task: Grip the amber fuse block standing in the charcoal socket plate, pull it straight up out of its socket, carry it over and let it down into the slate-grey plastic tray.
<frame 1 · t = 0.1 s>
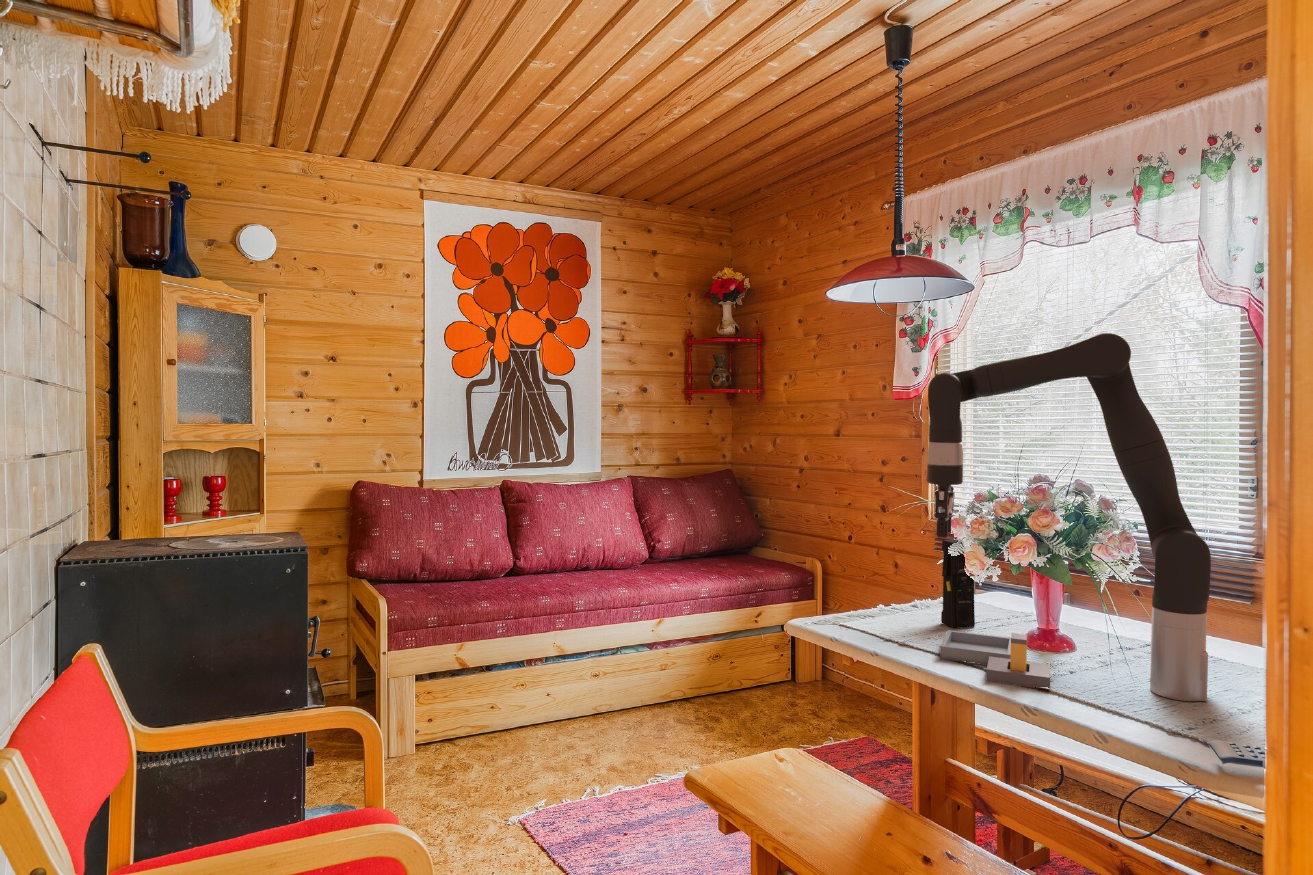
hand: (944, 534, 179), 29 cm above the table, tool pointing down, fingers open, 8 cm apart
portable radio: (956, 626, 211), on the table
grey tray: (977, 654, 186), on the table
amber fuse: (1018, 657, 169), in the socket plate
socket plate: (1018, 678, 169), on the table
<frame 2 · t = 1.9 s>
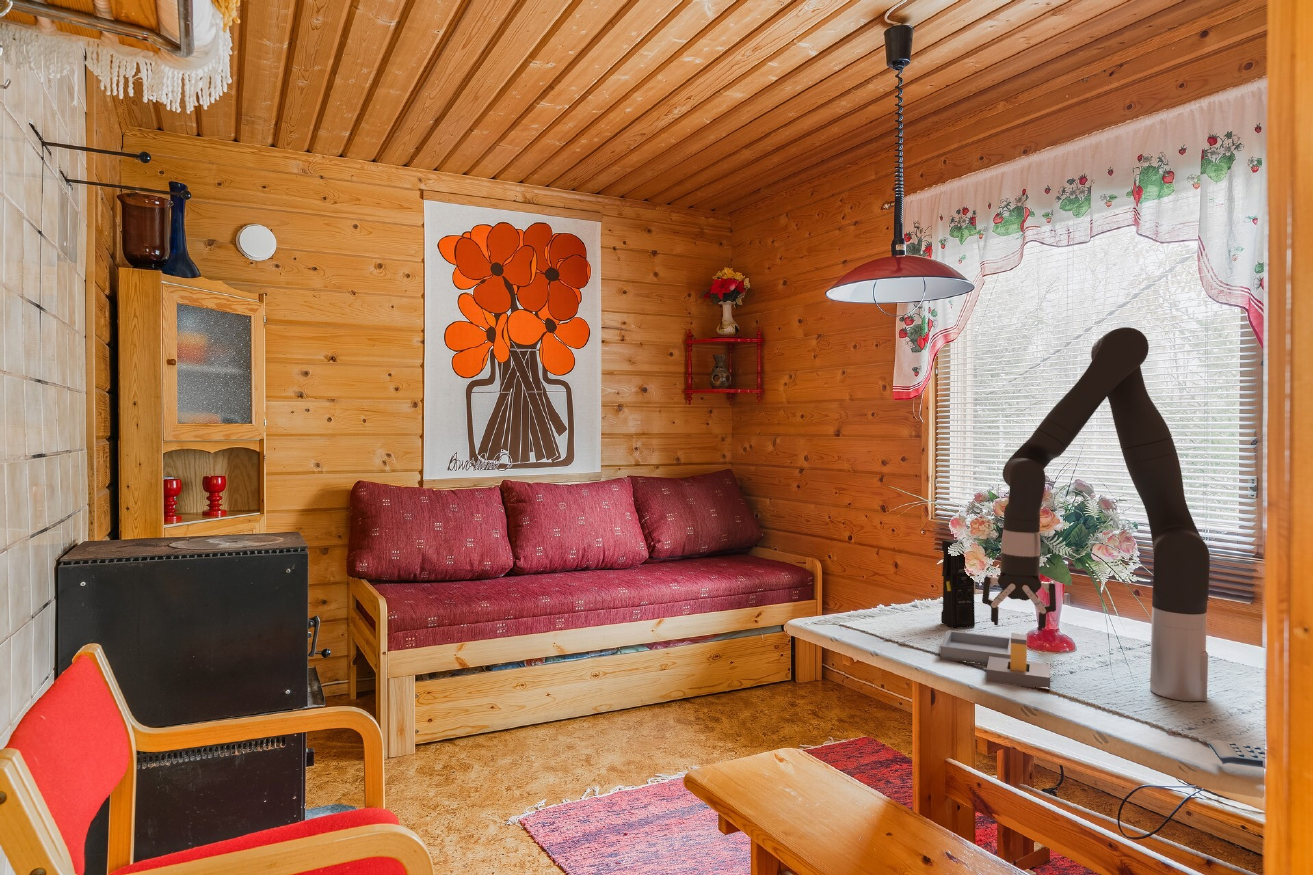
hand: (1017, 627, 169), 11 cm above the table, tool pointing down, fingers open, 8 cm apart
nothing on the table moved.
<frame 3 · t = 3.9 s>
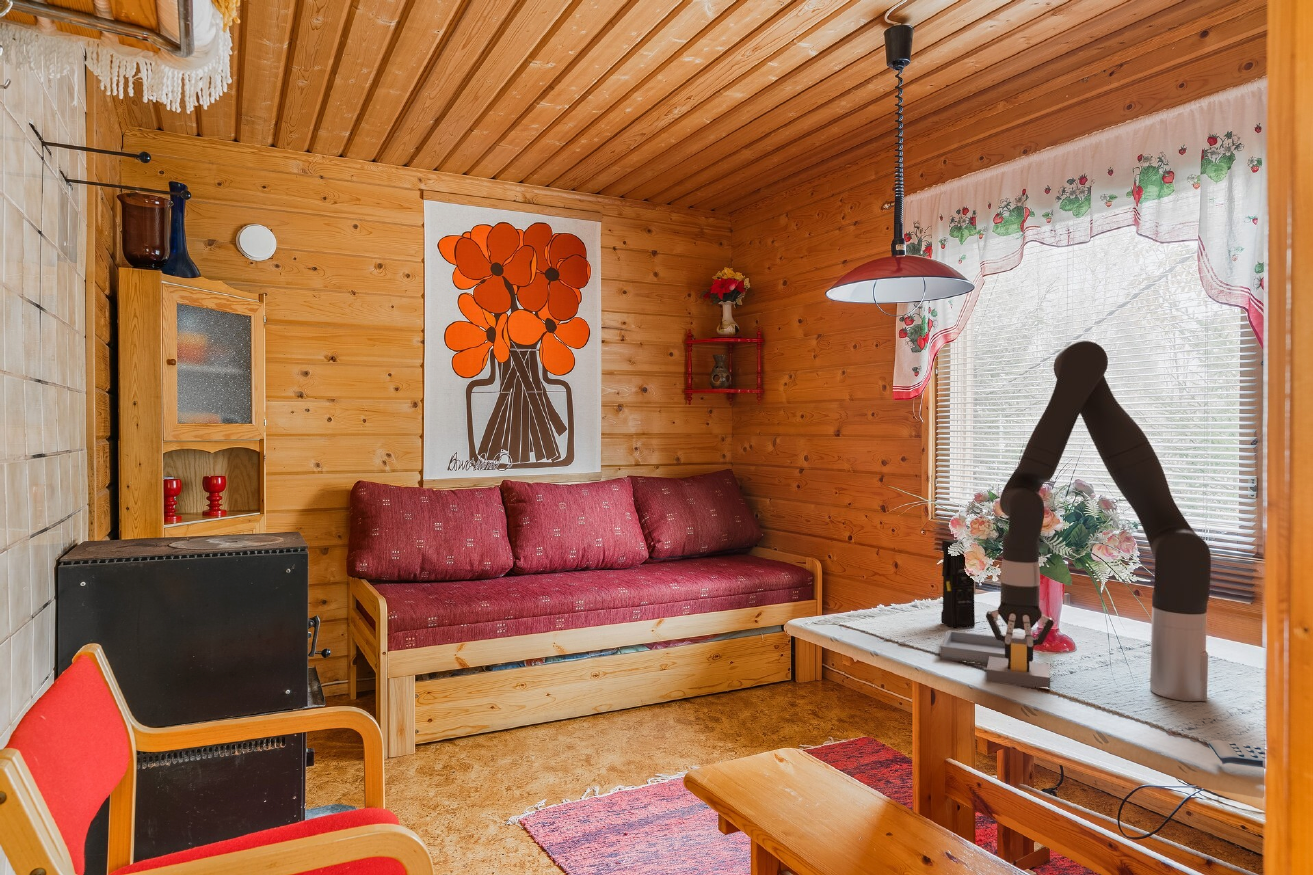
hand: (1018, 661, 169), 4 cm above the table, tool pointing down, fingers closed on amber fuse, 2 cm apart
amber fuse: (1018, 656, 169), in the socket plate, touching gripper
everything else where it was.
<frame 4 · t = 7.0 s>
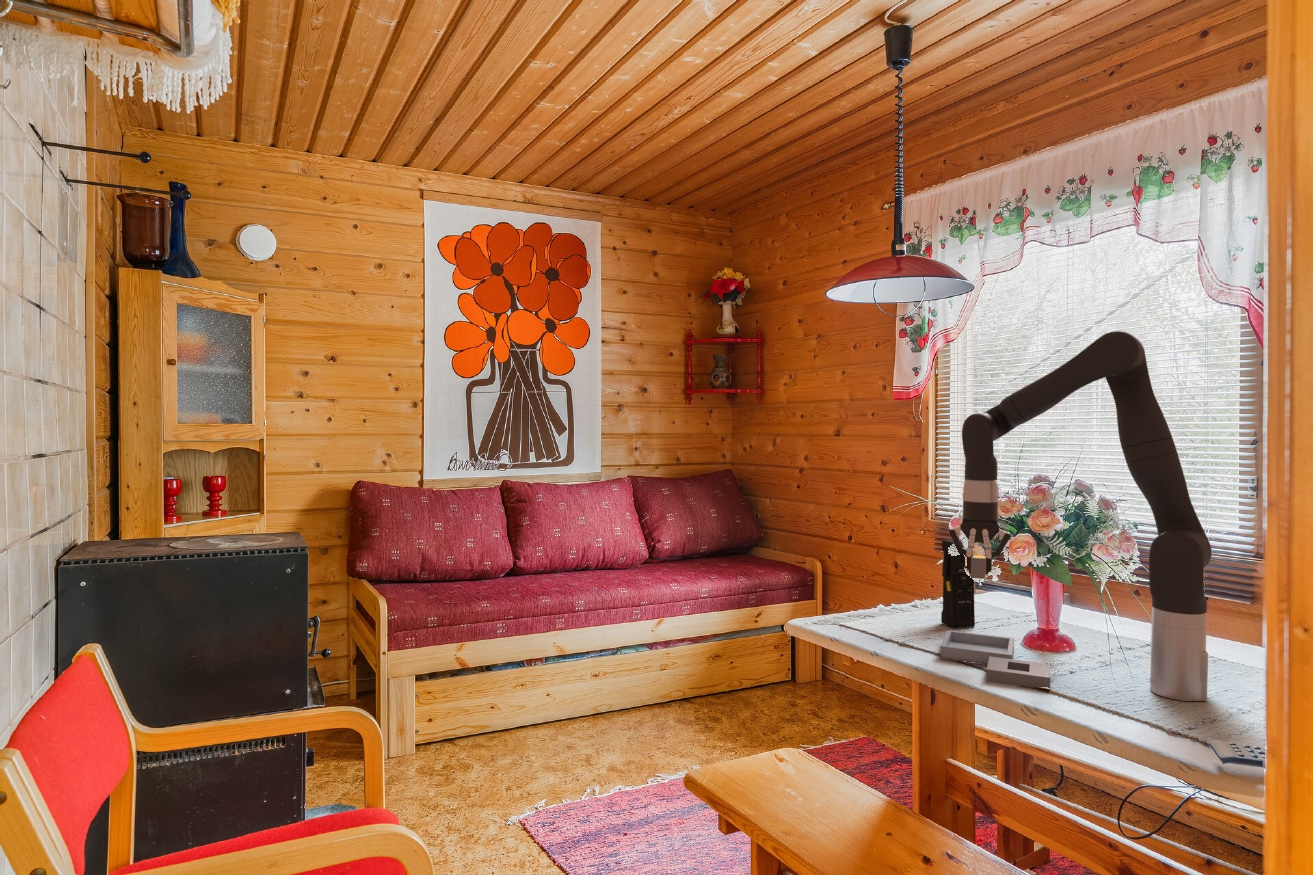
hand: (978, 572, 185), 19 cm above the table, tool pointing down, fingers closed on amber fuse, 2 cm apart
amber fuse: (979, 566, 186), point 20 cm above the table, tilted 84°, touching gripper
everything else where it was.
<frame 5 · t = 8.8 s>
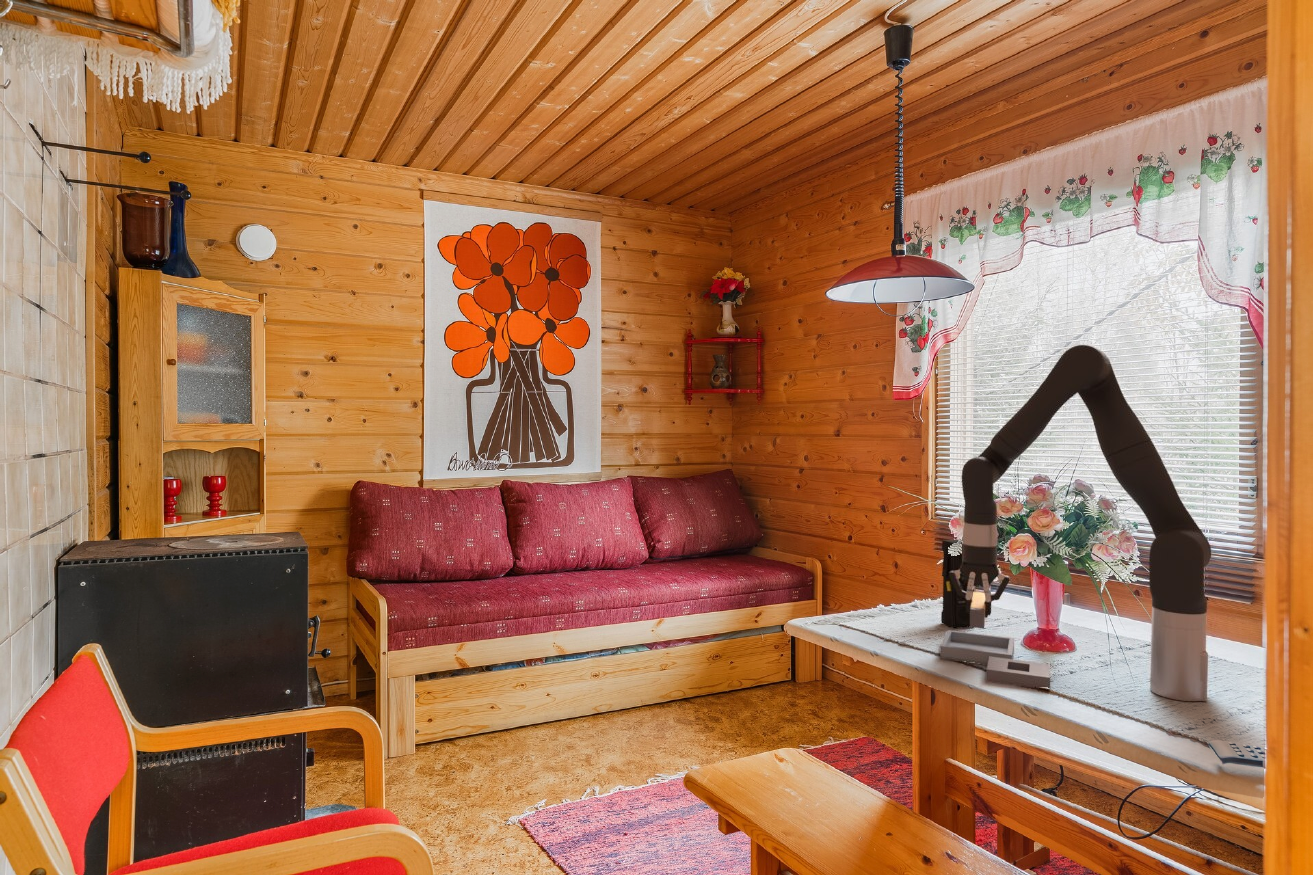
hand: (978, 615, 186), 9 cm above the table, tool pointing down, fingers closed on amber fuse, 2 cm apart
amber fuse: (978, 609, 186), point 10 cm above the table, tilted 105°, touching gripper
everything else where it was.
when the fingers open (6 cm above the table, at t = 10.2 s): amber fuse drops 4 cm and tips over, resting on grey tray.
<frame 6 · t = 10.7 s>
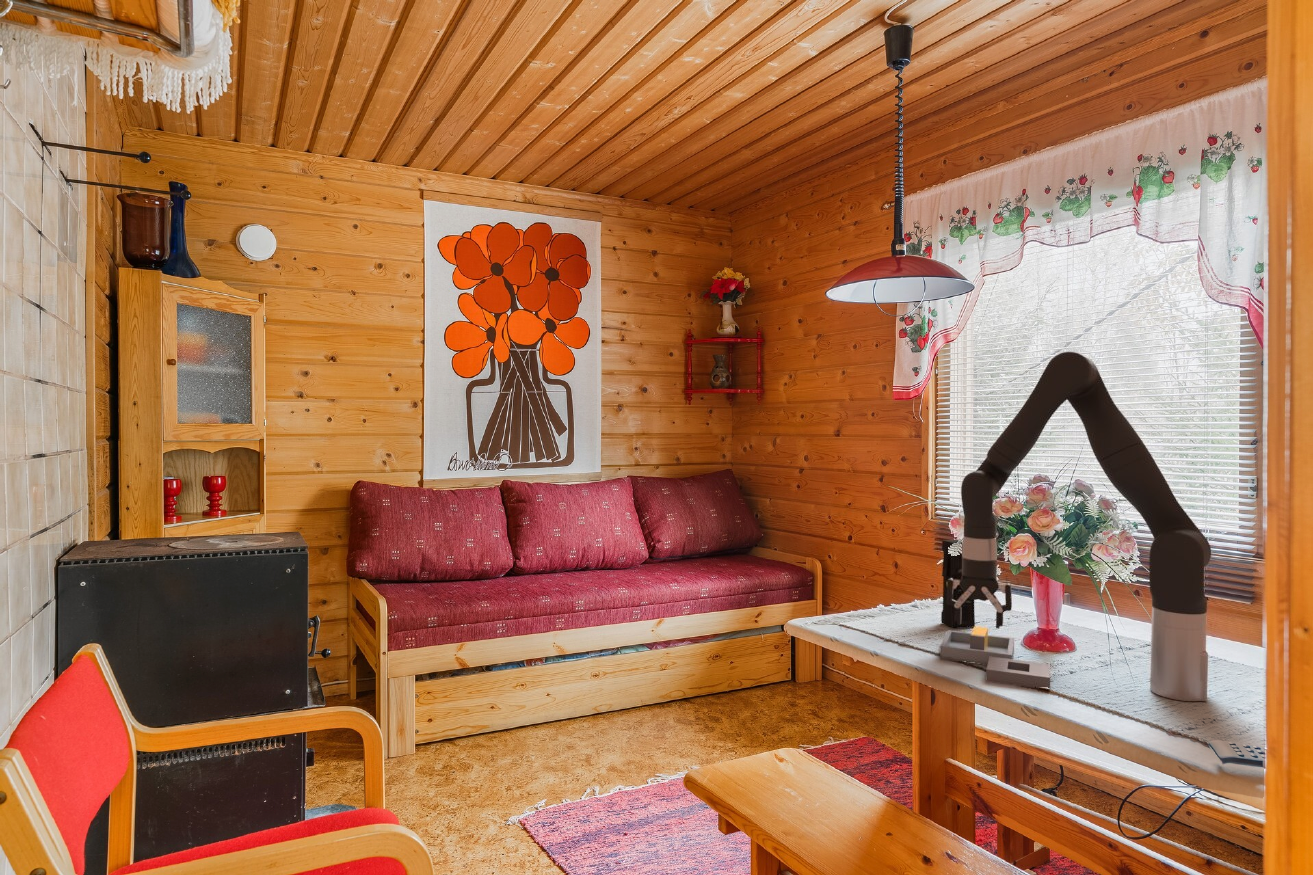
hand: (978, 625, 186), 7 cm above the table, tool pointing down, fingers open, 8 cm apart
amber fuse: (979, 641, 186), in the grey tray, point 3 cm above the table, tilted 90°
everything else where it was.
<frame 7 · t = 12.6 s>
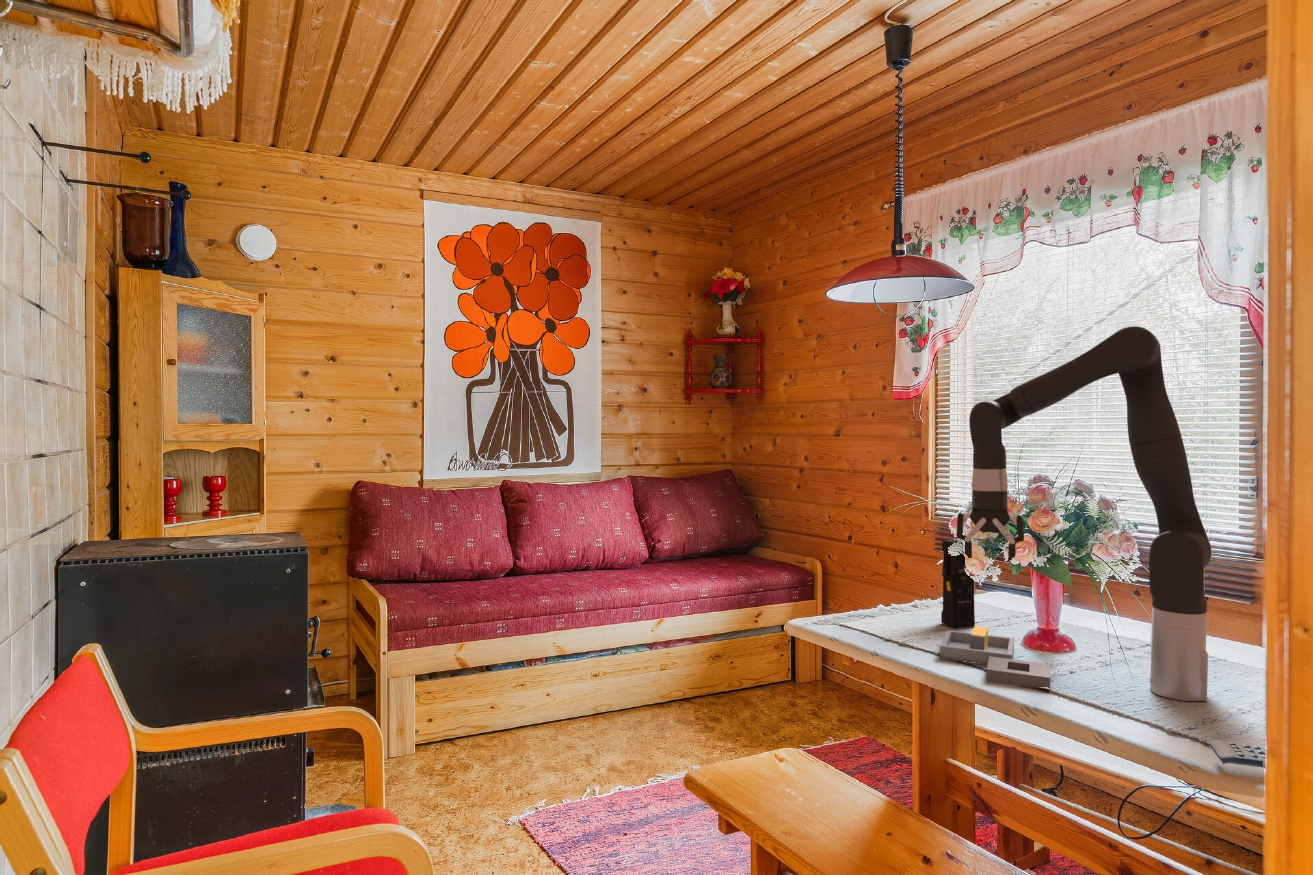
hand: (990, 558, 183), 23 cm above the table, tool pointing down, fingers open, 8 cm apart
nothing on the table moved.
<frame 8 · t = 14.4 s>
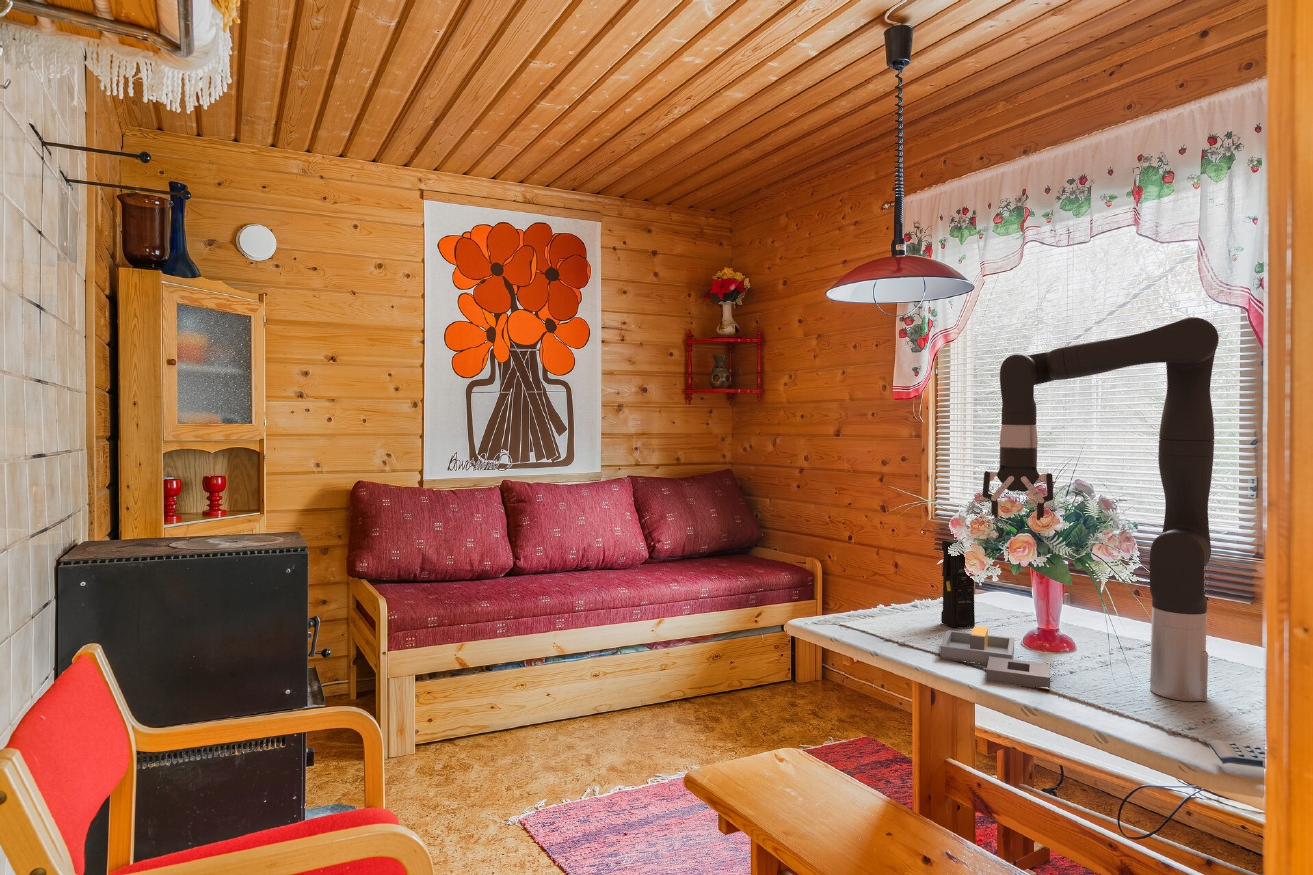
hand: (1017, 518, 176), 33 cm above the table, tool pointing down, fingers open, 8 cm apart
nothing on the table moved.
at the end: amber fuse inside the target area on the grey tray (5.2 cm from its centre), point 3.0 cm above the grey tray's base; the gripper is holding nothing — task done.
